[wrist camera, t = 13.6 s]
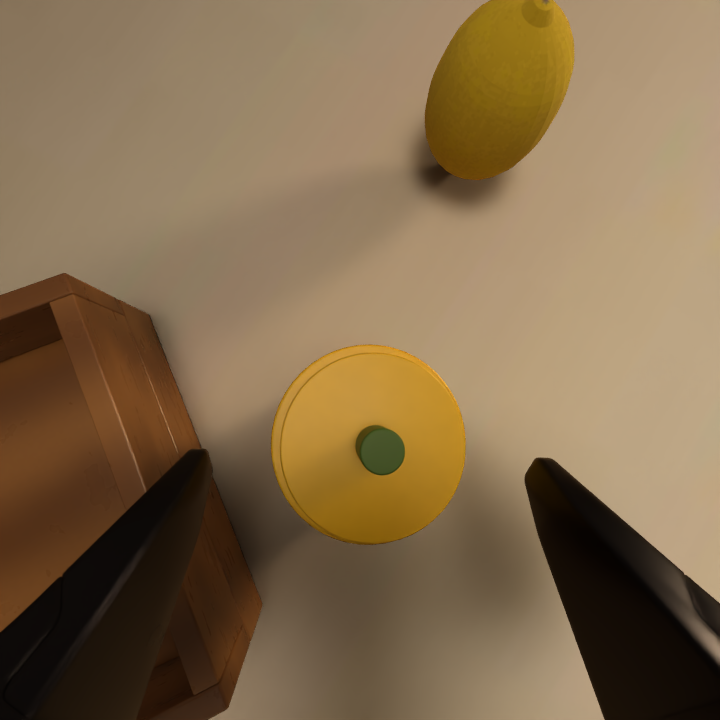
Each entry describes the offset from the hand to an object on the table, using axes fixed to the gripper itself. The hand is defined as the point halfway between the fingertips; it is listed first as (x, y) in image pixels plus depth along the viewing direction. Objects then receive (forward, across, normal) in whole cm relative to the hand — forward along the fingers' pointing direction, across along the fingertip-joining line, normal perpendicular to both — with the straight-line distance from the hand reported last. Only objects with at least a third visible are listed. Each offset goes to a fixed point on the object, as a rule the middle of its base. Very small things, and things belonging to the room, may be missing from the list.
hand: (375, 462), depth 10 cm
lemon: (+16, -5, -5) cm, 18 cm away
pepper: (+6, 0, +5) cm, 8 cm away
